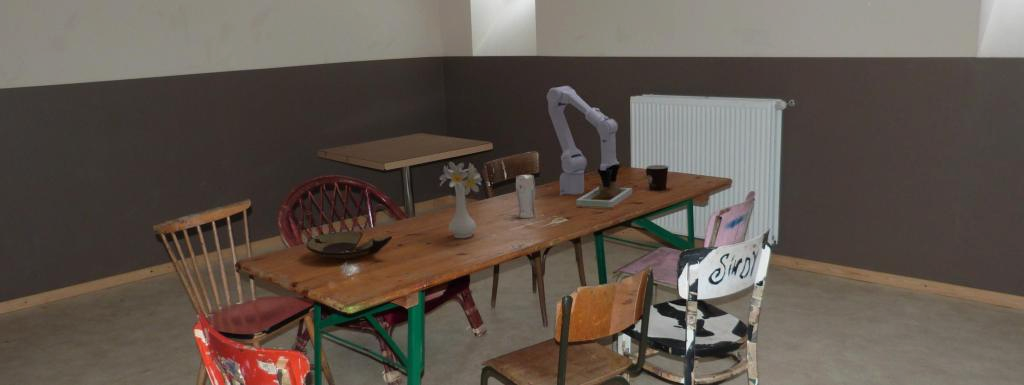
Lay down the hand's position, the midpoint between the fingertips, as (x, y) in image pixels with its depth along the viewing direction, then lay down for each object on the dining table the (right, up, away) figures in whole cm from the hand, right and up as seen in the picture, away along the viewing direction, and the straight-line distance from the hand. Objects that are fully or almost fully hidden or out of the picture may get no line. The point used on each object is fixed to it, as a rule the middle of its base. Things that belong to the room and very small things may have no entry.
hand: (609, 185), depth 332 cm
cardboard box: (0, -4, +1) cm, 5 cm away
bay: (-2, -6, -4) cm, 8 cm away
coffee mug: (+21, -2, +11) cm, 23 cm away
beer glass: (-33, -12, -21) cm, 41 cm away
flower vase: (-54, -18, -44) cm, 72 cm away
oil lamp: (-90, -24, -62) cm, 112 cm away
